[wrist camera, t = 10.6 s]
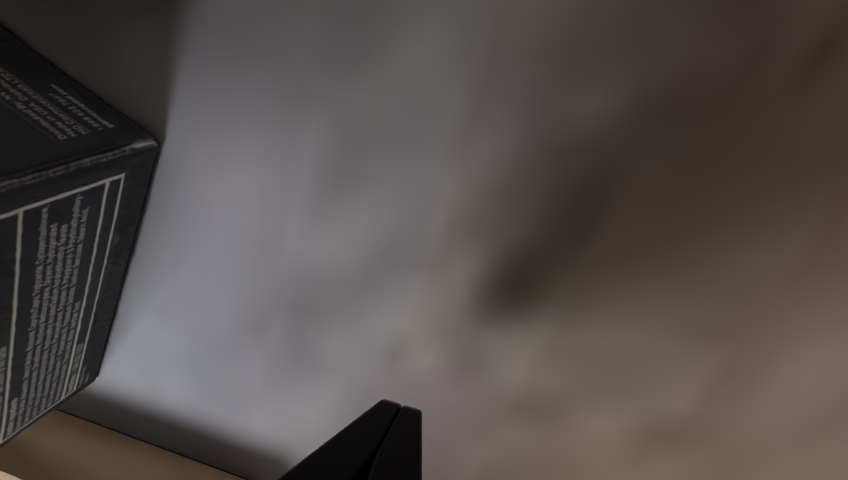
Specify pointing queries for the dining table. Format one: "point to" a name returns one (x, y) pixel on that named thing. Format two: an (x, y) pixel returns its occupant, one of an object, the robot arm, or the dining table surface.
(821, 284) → the dining table surface
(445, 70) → the dining table surface
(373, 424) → the robot arm
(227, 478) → the light tan flat part
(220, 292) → the dining table surface
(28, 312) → the small box
